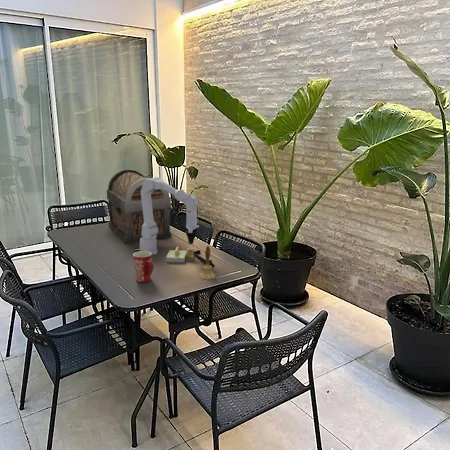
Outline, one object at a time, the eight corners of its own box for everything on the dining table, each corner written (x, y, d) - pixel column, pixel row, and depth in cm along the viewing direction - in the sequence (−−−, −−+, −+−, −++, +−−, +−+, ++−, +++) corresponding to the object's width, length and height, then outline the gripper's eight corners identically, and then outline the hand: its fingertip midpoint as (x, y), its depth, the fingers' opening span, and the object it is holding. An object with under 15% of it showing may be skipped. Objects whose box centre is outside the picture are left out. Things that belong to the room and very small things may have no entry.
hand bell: (197, 274, 213) (197, 244, 209) (213, 272, 215) (213, 243, 211) (201, 280, 205) (201, 249, 201) (217, 279, 208) (218, 248, 203)
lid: (166, 258, 228) (166, 252, 227) (169, 251, 239) (169, 245, 238) (184, 259, 227) (184, 252, 226) (187, 251, 239) (187, 245, 238)
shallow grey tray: (166, 262, 228) (166, 258, 228) (169, 255, 240) (169, 251, 239) (184, 263, 228) (184, 259, 228) (187, 255, 240) (187, 252, 239)
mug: (130, 279, 205) (129, 253, 202) (146, 274, 211) (146, 249, 207) (143, 287, 196) (142, 260, 192) (159, 282, 202) (159, 256, 198)
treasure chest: (108, 226, 295) (104, 170, 285) (150, 221, 310) (149, 168, 299) (125, 244, 257) (123, 180, 247) (173, 238, 272) (172, 177, 262)
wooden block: (186, 260, 232) (186, 249, 230) (187, 258, 236) (187, 247, 234) (193, 260, 232) (192, 249, 230) (193, 258, 235) (193, 247, 234)
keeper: (185, 261, 231) (185, 259, 231) (187, 257, 237) (187, 255, 236) (193, 261, 231) (193, 259, 231) (194, 257, 237) (194, 255, 236)
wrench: (200, 255, 246) (220, 269, 219) (192, 257, 244) (211, 271, 217) (199, 247, 245) (219, 260, 218) (191, 248, 243) (210, 262, 216)
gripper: (197, 221, 222) (197, 245, 226) (199, 215, 236) (199, 238, 240) (184, 221, 222) (184, 245, 226) (187, 214, 236) (187, 237, 240)
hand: (191, 241), depth 233 cm, fingers open, 7 cm apart
